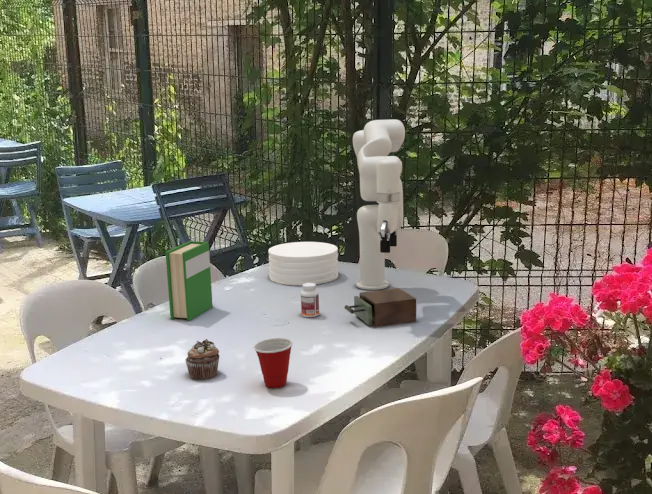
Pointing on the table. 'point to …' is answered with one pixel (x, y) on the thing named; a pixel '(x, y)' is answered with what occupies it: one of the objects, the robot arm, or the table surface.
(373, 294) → the cabinet
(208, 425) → the table surface
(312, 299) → the pill bottle
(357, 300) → the drawer
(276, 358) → the plastic cup
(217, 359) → the cupcake
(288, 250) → the plate stack
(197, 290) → the hardback book
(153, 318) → the table surface
